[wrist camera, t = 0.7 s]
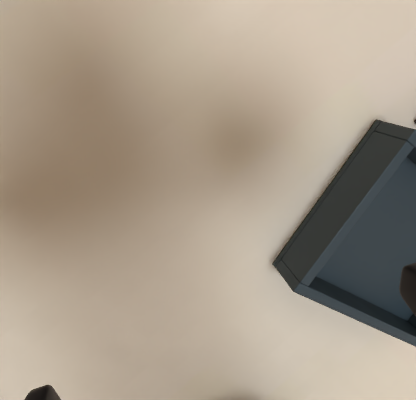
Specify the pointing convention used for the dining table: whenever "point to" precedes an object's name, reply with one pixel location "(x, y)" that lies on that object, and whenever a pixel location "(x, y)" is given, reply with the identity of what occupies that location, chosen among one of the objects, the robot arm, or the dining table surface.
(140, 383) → the dining table surface
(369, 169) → the tray
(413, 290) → the robot arm
